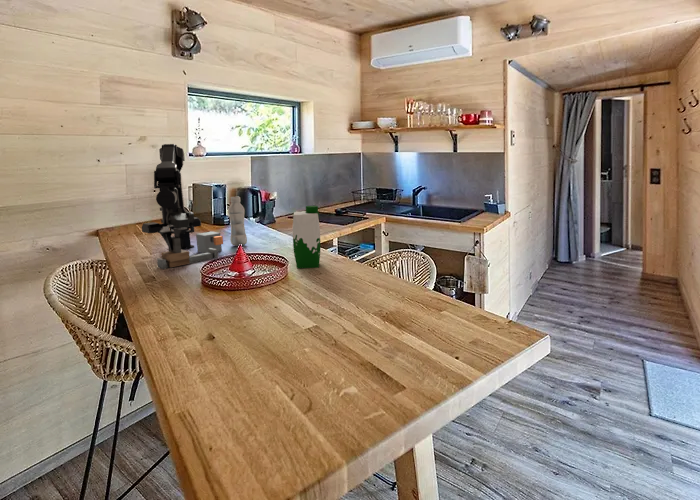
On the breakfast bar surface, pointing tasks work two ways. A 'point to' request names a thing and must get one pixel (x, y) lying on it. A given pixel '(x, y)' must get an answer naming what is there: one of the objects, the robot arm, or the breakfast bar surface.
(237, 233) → the plastic bottle
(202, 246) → the block
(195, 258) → the rail
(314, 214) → the milk carton
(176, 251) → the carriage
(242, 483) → the breakfast bar surface
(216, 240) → the plunger
